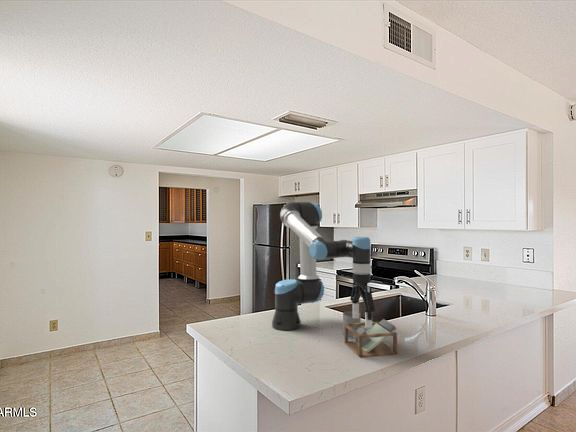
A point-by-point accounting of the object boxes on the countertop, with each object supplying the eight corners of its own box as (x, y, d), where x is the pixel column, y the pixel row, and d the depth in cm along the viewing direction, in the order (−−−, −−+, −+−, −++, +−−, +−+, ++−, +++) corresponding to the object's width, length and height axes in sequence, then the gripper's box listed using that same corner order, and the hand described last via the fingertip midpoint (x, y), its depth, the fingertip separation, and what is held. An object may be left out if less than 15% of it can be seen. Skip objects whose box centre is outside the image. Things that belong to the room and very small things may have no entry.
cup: (348, 330, 175) (348, 310, 175) (363, 334, 170) (363, 313, 170) (339, 335, 169) (339, 314, 169) (355, 339, 163) (355, 317, 163)
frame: (359, 357, 142) (359, 336, 142) (344, 342, 158) (344, 323, 158) (397, 353, 145) (397, 333, 145) (378, 340, 162) (378, 321, 162)
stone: (361, 347, 149) (355, 337, 148) (357, 343, 153) (351, 334, 153) (371, 340, 149) (365, 330, 149) (366, 336, 154) (360, 327, 154)
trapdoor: (367, 353, 145) (365, 350, 145) (355, 342, 157) (353, 339, 157) (398, 329, 148) (396, 326, 147) (383, 320, 160) (382, 318, 160)
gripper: (383, 277, 140) (383, 331, 140) (358, 268, 164) (358, 314, 164) (365, 278, 138) (365, 332, 138) (343, 269, 163) (343, 315, 163)
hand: (362, 322), depth 151 cm, fingers open, 13 cm apart
